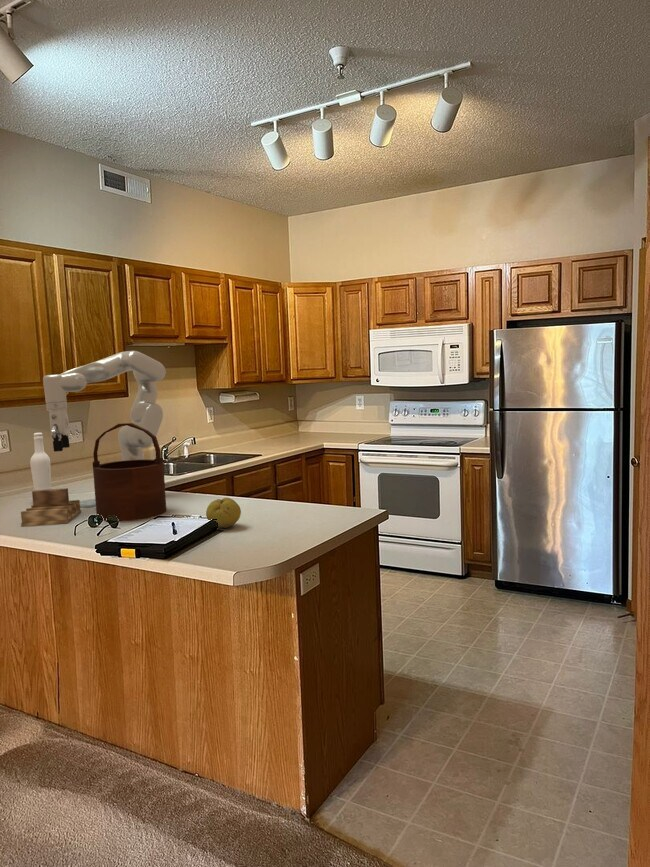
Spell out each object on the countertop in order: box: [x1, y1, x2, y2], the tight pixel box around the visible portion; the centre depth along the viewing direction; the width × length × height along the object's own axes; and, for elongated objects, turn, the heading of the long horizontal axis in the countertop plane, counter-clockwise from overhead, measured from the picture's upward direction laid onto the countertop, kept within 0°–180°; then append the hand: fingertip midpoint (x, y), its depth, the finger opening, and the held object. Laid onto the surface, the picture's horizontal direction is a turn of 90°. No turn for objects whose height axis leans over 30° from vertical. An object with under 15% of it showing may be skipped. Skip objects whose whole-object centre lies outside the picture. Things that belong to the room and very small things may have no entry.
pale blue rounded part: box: [80, 498, 96, 509], centre depth 256 cm, size 12×12×1 cm
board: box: [31, 487, 70, 508], centre depth 231 cm, size 12×3×10 cm, turn 97°
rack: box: [20, 499, 82, 527], centre depth 231 cm, size 16×18×5 cm
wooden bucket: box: [92, 422, 167, 522], centre depth 235 cm, size 26×26×35 cm
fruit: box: [205, 497, 242, 529], centre depth 209 cm, size 11×12×10 cm
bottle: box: [29, 432, 52, 491], centre depth 264 cm, size 8×8×30 cm
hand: (62, 449), depth 242 cm, fingers open, 9 cm apart
